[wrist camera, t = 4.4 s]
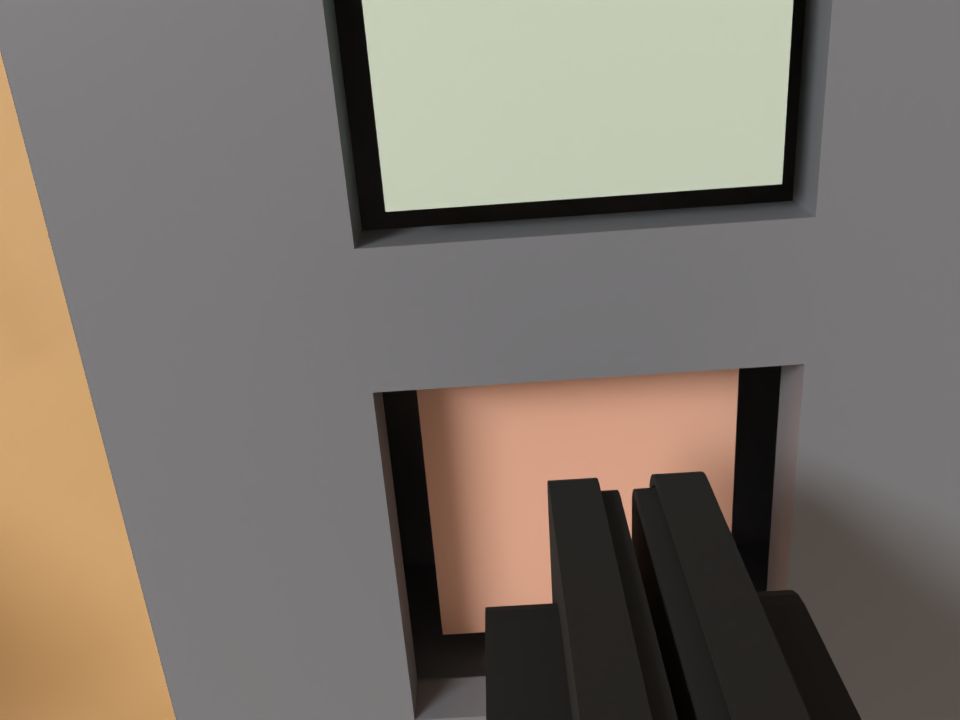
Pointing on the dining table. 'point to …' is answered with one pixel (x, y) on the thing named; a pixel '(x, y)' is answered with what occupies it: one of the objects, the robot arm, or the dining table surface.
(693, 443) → the terracotta key
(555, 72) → the sage key
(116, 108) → the keypad housing
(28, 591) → the dining table surface
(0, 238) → the dining table surface
